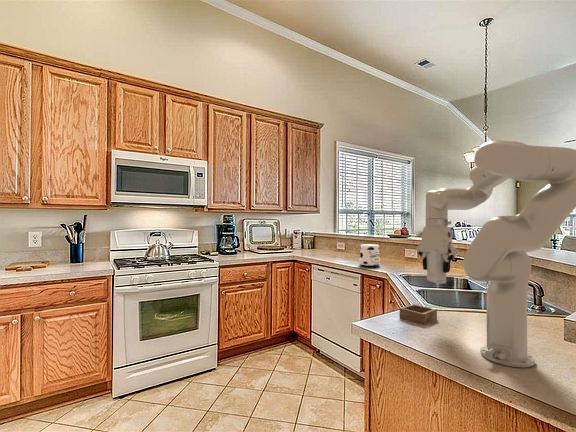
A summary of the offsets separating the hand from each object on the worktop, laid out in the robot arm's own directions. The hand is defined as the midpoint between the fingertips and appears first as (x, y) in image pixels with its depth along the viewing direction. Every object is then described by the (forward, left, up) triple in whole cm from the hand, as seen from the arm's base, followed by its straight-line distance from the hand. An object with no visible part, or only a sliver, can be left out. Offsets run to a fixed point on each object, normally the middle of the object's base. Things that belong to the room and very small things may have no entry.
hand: (435, 270), depth 118 cm
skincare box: (0, 0, -4) cm, 4 cm away
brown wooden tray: (0, +7, -20) cm, 21 cm away
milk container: (+100, +107, -20) cm, 148 cm away
